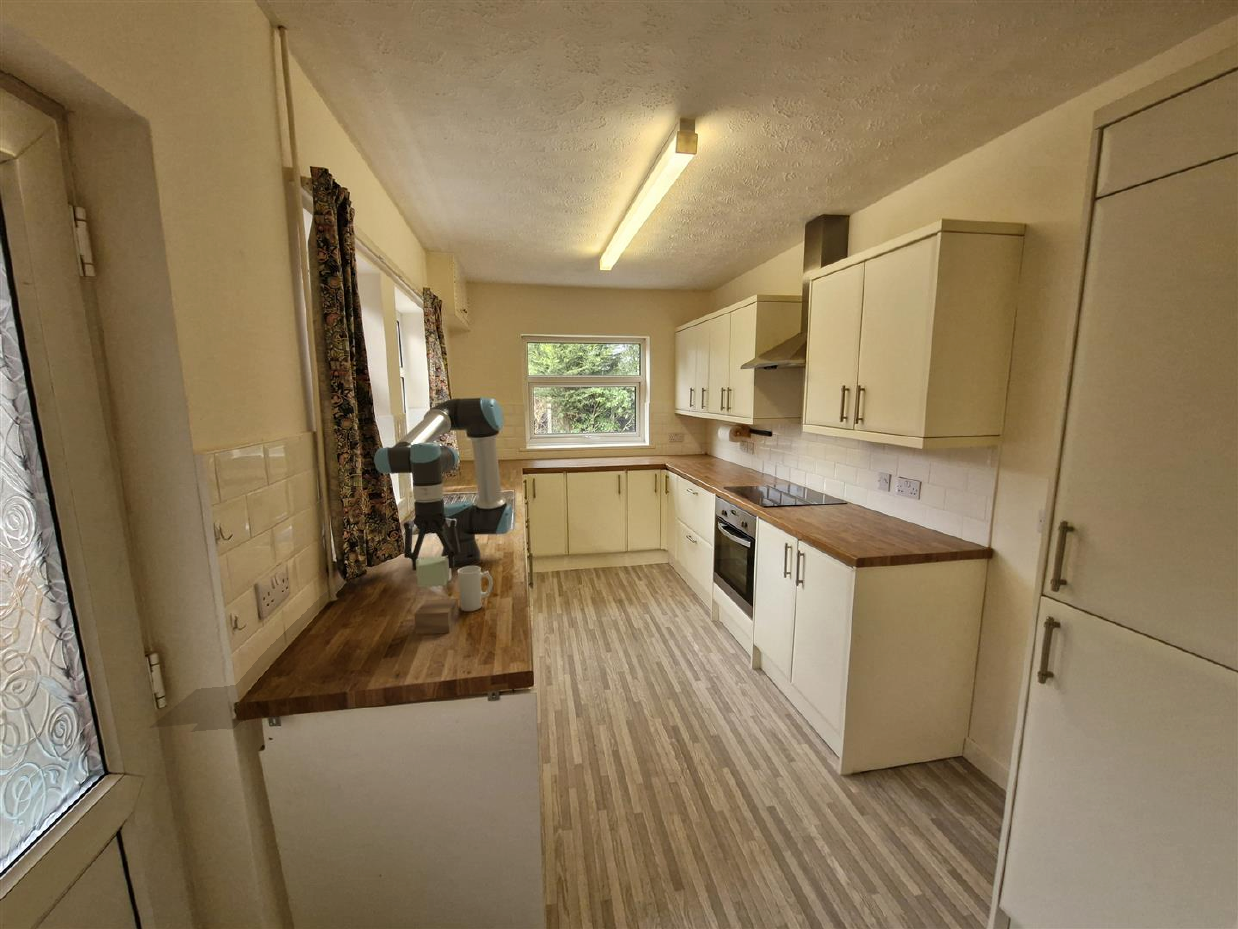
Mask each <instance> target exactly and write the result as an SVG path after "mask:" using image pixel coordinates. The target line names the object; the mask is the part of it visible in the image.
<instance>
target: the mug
mask: <svg viewBox="0 0 1238 929" xmlns="http://www.w3.org/2000/svg"><path fill="white" fill-rule="evenodd" d="M481 569H482V567H481V566H478V565H465V566H463V567H461V568H459V569H458V570H457V580H458V581H457V582H458V590H459V591H458V592H459V604H460V610H462V611H464V612H474V611H477V610H479V609H481V608H482V607H483V599H484V598H488V597H489V596H490V594H491V592H492V589H493V584H494V583H493V577H491V575H490V572H489V571H488V570H486V571H484V572H482V571H481ZM483 577H484V578H486V579H487V580H488V588H487V589H486V591H485V592H484V591H482V578H483Z"/></svg>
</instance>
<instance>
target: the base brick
mask: <svg viewBox="0 0 1238 929" xmlns="http://www.w3.org/2000/svg"><path fill="white" fill-rule="evenodd" d="M459 612H460V611H459V599H458V598H445V599H444V598H443V599H440V598H439V599H426V600H424V602H423V603H422V604H421V605H420V607H419V608H418V609H417V610H416V611H415V612H414V626H415V628H414V629H415V634H416V635H420V634H421V635H423V634H425V635H427V634H449V633H450V632H451V631H452V629H453V628H454V627H455V624H457V622H458V621H459V619H460V613H459Z"/></svg>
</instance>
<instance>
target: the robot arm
mask: <svg viewBox="0 0 1238 929" xmlns="http://www.w3.org/2000/svg"><path fill="white" fill-rule="evenodd" d="M503 424H504V417H503V411H502V408H501V406H500V404H499V402H498V401H497V400H496V398H495V399H494V398H490V397H489V398H488V397H468V398H466V397H465V398H451V399H447V400H444V401H442V402H440V403H438V404H436V405H434V406H433V407H431V408H430V409H429V410H428V411H426V412H425V414H424V416H423V419H421V421H420V422H419V423H417V425H415V426H414V427H413V428H412V429H411V430H410V431H409V432H408V433H407V434H405V435H404V436H403V437H402V438H401V439H400V440H399V441H397V443H396V444H394V445H393V446H392V447H389V446H387V447H380V448H378V449H377V450H376V451H375V454H374V459H373V460H374V465H375V469H376V470H377V471H378V472H379V473H382V474H393V475H394V474H411V477H412V478H411V479H412V492H413V493H412V494H413V499H414V500H415V501H413V502H414V503H413V504H414V505H413V508H414V518H413V519H412V520H406V521H405V522H404V523H403V524H402V525H403V528H404V532H405V533H404V534H405V535H404V555H403V556H404V558H405V559H410V560H411V565H412V570H413V572H414V571H415V572H417V565H418V564H419V562H420V561H421V560H422V559H423V558H422V556H419V554H420V552H421V549H422V545H423V542H424V539H425V536H426V535H427V534H436V536H437V537H438V540H439V542H440V543H441V545H442V547H443V548H442V552H441V554H440V557H442V556H446V558H445V562H446V578H447V582H450V580H451V579H452V569H453V568H454V567H459V566H460V567H461V566H469V565H470V564H471V565H472V564H475V563H476V562H478V561H480V560H481V558H482V556H481V554H482V553H481V550H480V548H479V545H478V542H477V540H476V535H478V536H479V535H481V536H482V535H483V536H484V535H489V536H490V535H491V536H492V535H493V536H494V535H495V536H497V535H505V534H507V533H508V532H509V531H510V528H511V525H512V520H513V507H512V504H510V503H509V504H508V502H507V499H506V497H504V496H503V494H502V493H503V492H502V487H501V486H502V485H501V478H500V477H501V475H500V468H499V459H498V450H497V440H496V438H497V437H498V436H499V434H500V430H502V429H503ZM453 431H465V433H466V438H468V439H470V440H471V448H472V452H473V453H472V454H473V461H474V468H475V469H474V470H475V476H476V486H477V492H478V500H477V501H476V502H475V504H474V502H473V501H472V500H464V501H462V500H461V501H457V502H452V503H450V504H446V505H445V501H444V499H443V497H444V485H443V473H448V472H449V471H452V470H454V469H455V468H456V467H457V465H458V463H459V453H458V452H457V450H456V449H455V448H454V447H452V446H449V445H440V444H439V443H438V442H436V441H437V440H438V438H439V437H441V436H442V435H446V434H448V433H449V432H453ZM414 526H416V527H417V528H418V530H419V532H418V533H417V534H418V535H417V539H416V542H415V546H414V549H413V551H412V548H413V528H414ZM416 579H417V580H416V581H417V584H418V578H417V577H416Z"/></svg>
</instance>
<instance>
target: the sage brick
mask: <svg viewBox="0 0 1238 929" xmlns="http://www.w3.org/2000/svg"><path fill="white" fill-rule="evenodd" d="M445 558H446V556H442V557H441V556H428V557H427V556H424V557H423V558H421V559H422V560H421V561H420V562H419V564H418V565H417V571H416V579H417V578H418V583H417V587H418V588H428V587H441V586H446V585H447V583H448V581H447V578H446V562H445Z"/></svg>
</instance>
